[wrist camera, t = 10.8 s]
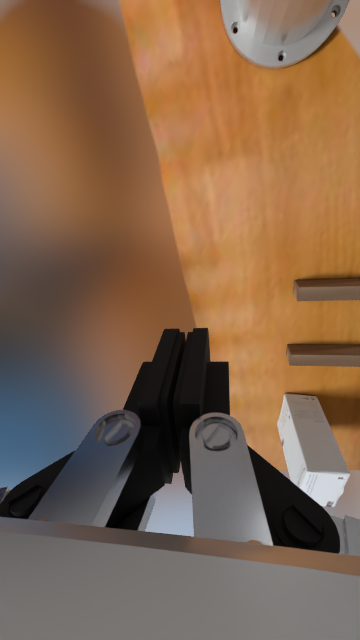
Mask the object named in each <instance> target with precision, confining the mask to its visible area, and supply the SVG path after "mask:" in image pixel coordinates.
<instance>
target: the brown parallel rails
mask: <svg viewBox="0 0 360 640" xmlns="http://www.w3.org/2000/svg"><path fill="white" fill-rule="evenodd" d="M293 294H294V296H295V297H296V299H297V301H330V300H360V278H355V279H320V280H294V288H293ZM286 356H287V359H288V362H289V364H290V365H295V366H354V367H360V345H305V344H287V351H286Z"/></svg>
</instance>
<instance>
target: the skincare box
mask: <svg viewBox="0 0 360 640" xmlns="http://www.w3.org/2000/svg"><path fill="white" fill-rule="evenodd" d="M277 426H278V430H279V434H280V438H281V442H282V447H283V451H284V455H285V459H286V463H287V468H288V471H289V475H290V479H291V481H292V482H293V483H294V484H295V485H296V486H298V487H299V488H300V489H301V490H302V491H304V492H305V493H306V494H307V495H309V496H310V497H311V498H312V499H313V500H315V501H316V502H317V503H318V504H319V505H321V506H329V507H335V505H336V503H337V500H338V498H339V497H340V496H341V495H342V494H343V492H344V486H345V483H346V482H347V480H348V478H349V476H350V472H349V470H348V467H347V465H346V463H345V460H344V458H343V456H342V454H341V451H340V449H339V447H338V444H337V442H336V440H335V437H334V435H333V433H332V430H331V428H330V426H329V423H328V421H327V419H326V416H325V414H324V412H323V410H322V407H321V405H320V403H319V400H318V398H317V397H316V396H307V395H298V394H288V393H285V394H284V398H283V404H282V409H281V413H280V416H279V420H278V423H277Z"/></svg>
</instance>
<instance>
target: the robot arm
mask: <svg viewBox="0 0 360 640" xmlns="http://www.w3.org/2000/svg"><path fill="white" fill-rule="evenodd" d="M348 2H349V0H220V6H221V13H222V19H223V23H224V26H225V30H226V33H227V35H228V37H229V39H230V41H231V43H232V45H233V47H234V48H235V49H236V50H237V52H238V53H239V54H240V55H241V56H242V57H243V58H244V59H246V60H247V61H248V62H250V63H251V64H254V65H256V66H258V67H261V68H267V69H279V68H285V67H288V66H291V65H294V64H296V63H298V62H300V61H302V60H304V59H305V58H307V57H308V56H309V55H311V54H312V53H313V52H314V51H316V50H317V49H318V48H319V47H320V46H321V44H322V43H323V42H324V41H325V40H326V39H327V38H328V37H329V35H330V34H331V32H332V31H333V30H334V29H335V27H336V26H337V24H338V22H339V21H340V19H341V17H342V16H343V14H344V12H345V9H346V7H347V5H348ZM332 12H333V13H335V17H332V16H331V13H332ZM234 29H237V30H238V32H237V33H236V34H235V33H233V30H234ZM279 56H282V57H283V60H282V61H279V60H278V57H279ZM180 461H181V465H182V471H183V475H184V481H185V487H186V488H187V490H188V491H189V492H190V493H191V494H192V502H193V522H194V537H191V536H182V535H172V534H163V533H153V532H145V529H146V526H147V523H148V521H149V518H150V515H151V512H152V509H153V506H154V504H155V500H156V491H158V490H159V489H160V488H162V487H163V486H164V485H165V483H169V484H171V482H172V477H173V473H178V472H179V468H180ZM0 640H360V520H359V519H356V518H353V517H349V516H346V515H345V517H344V519H341V518H338V517H335V516H331V515H329V514H328V513H327V512H326V511H325V510H324V508H323V507H322V506H321V505H319V504H318V503H317V502H316V501H315V500H313V499H312V498H311V497H310V496H309V495H307V494H306V493H305V492H304V491H302V490H301V489H300V488H299V487H298V486H296V485H295V484H294V483H293V482H292V481H290V480H289V479H288V478H287V477H285V476H284V475H283V474H282V473H280V472H279V471H278V470H277V469H276V468H275V467H273V466H272V465H271V464H270V463H268V462H267V461H266V460H265V459H264V458H262V457H261V456H260V455H259V454H258V453H256V452H255V451H254V450H253V449H251V448H250V447H249V446H248V445H247V443H246V439H245V435H244V431H243V429H242V427H241V425H240V423H239V422H238V421H237V420H236V419H235V418H233V417H231V416H230V401H229V364H228V362H210V349H209V333H208V328H194V329H193V332H188V335H187V339H186V340H185V333H184V332H180V330H179V329H164V331H163V334H162V337H161V340H160V342H159V345H158V347H157V350H156V353H155V355H154V358H153V360H152V362H143V364H142V366H141V368H140V370H139V373H138V375H137V377H136V380H135V382H134V384H133V387H132V390H131V392H130V394H129V396H128V399H127V401H126V403H125V406H124V408H123V410H116V411H112V412H110V413H107V414H105V415H104V416H102V417H101V418H99V419H98V420H97V421H96V423H95V424H94V425H93V426H92V427H91V429H90V430H89V432H88V433H87V435H86V436H85V437H84V439H83V440H82V442H81V443H80V445H79V446H78V448H77V449H76V450H75V451H73V452H71V453H70V454H68V455H66V456H65V457H63V458H61V459H60V460H58V461H56V462H55V463H53V464H51V465H49V466H48V467H46V468H45V469H43V470H41V471H39V472H38V473H36V474H34V475H33V476H31V477H29V478H28V479H26V480H24V481H23V482H21V483H20V484H18V485H17V486H16V487H14V488H13V489H12V490H9V488H8V487H3V488H0Z"/></svg>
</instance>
